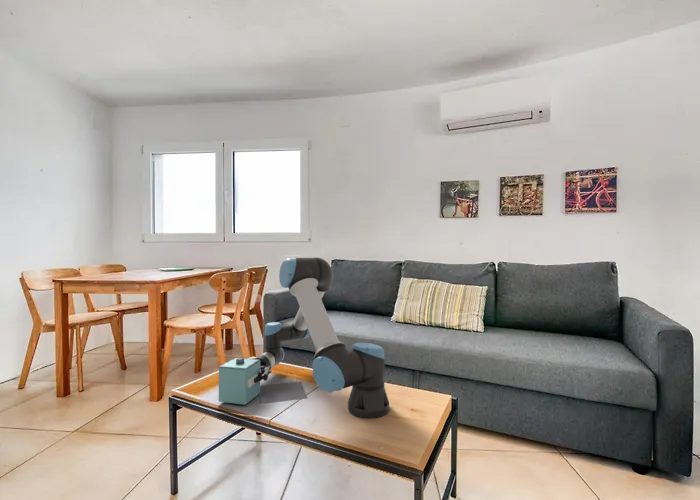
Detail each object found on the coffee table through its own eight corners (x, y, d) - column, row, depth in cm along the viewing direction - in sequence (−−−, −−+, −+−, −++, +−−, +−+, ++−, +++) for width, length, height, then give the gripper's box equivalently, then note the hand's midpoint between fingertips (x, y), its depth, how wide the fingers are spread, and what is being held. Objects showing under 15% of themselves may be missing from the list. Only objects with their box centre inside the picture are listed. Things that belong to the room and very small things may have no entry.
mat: (307, 399, 132) (307, 398, 132) (259, 405, 126) (259, 403, 126) (300, 382, 149) (300, 381, 149) (258, 387, 144) (258, 385, 144)
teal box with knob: (260, 392, 134) (260, 355, 134) (245, 404, 124) (245, 364, 124) (235, 390, 137) (235, 353, 137) (218, 401, 126) (218, 362, 126)
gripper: (287, 374, 145) (262, 395, 124) (238, 370, 150) (206, 389, 129) (287, 357, 145) (262, 374, 124) (238, 353, 151) (206, 369, 129)
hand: (234, 382), depth 126 cm, fingers closed on teal box with knob, 11 cm apart
